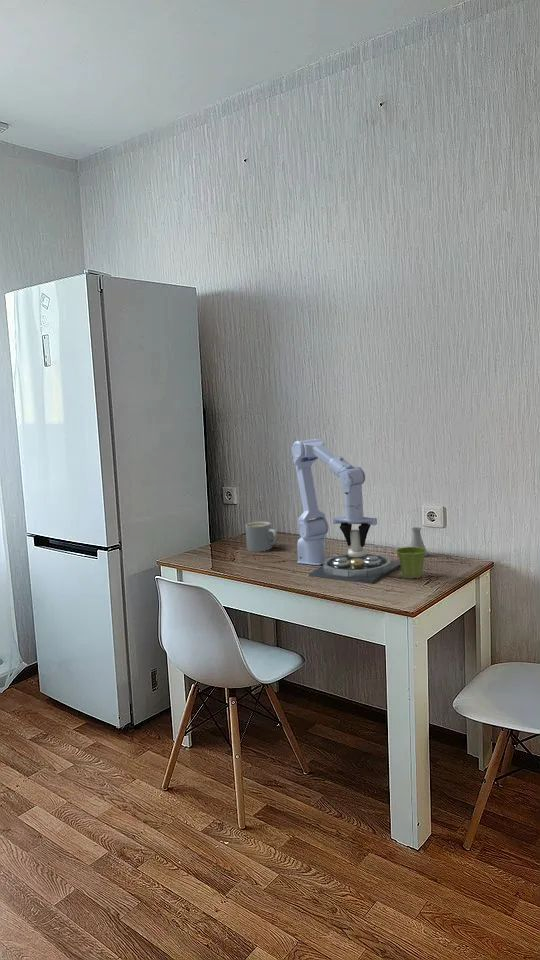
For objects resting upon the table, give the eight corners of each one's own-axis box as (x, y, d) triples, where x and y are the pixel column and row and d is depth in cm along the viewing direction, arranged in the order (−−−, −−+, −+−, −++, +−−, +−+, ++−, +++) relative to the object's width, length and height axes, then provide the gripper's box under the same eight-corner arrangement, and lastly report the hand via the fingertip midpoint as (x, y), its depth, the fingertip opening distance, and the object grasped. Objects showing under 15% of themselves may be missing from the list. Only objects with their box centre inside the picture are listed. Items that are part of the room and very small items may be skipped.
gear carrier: (309, 575, 229) (308, 565, 229) (343, 558, 248) (343, 549, 248) (372, 583, 216) (372, 572, 215) (404, 564, 235) (403, 554, 234)
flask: (422, 558, 241) (421, 530, 239) (403, 556, 245) (402, 529, 244) (431, 553, 246) (430, 526, 245) (412, 552, 251) (411, 525, 249)
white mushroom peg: (344, 554, 227) (343, 531, 226) (358, 551, 230) (357, 528, 229) (355, 558, 222) (354, 534, 220) (370, 554, 225) (368, 530, 224)
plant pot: (406, 571, 227) (405, 545, 226) (432, 574, 221) (431, 548, 220) (392, 578, 220) (390, 552, 219) (418, 582, 214) (417, 555, 213)
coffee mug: (241, 550, 272) (239, 525, 270) (259, 544, 279) (257, 520, 278) (266, 554, 263) (264, 528, 261) (283, 548, 270) (281, 523, 269)
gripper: (379, 503, 223) (381, 543, 225) (337, 502, 230) (340, 541, 232) (372, 507, 217) (374, 549, 219) (329, 506, 224) (332, 546, 226)
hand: (356, 545), depth 225 cm, fingers closed on white mushroom peg, 4 cm apart
